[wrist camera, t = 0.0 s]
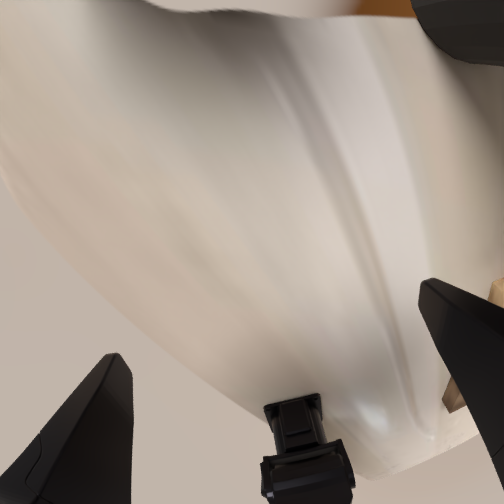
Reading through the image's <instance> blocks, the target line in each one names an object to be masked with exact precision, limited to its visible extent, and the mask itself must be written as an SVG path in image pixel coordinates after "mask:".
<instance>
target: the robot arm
mask: <svg viewBox="0 0 504 504" xmlns="http://www.w3.org/2000/svg"><path fill="white" fill-rule="evenodd" d="M418 306H419V310H420V312H421V314H422V316H423V319H424V321H425V323H426V325H427V327H428V330H429V332H430V334H431V337H432V339H433V341H434V343H435V346H436V348H437V350H438V352H439V354H440V356H441V357H442V359H443V361H444V363H445V365H446V366H447V368H448V370H449V372H450V374H451V376H452V378H453V379H454V381H455V383H456V385H457V387H458V389H459V391H460V393H461V395H462V397H463V399H464V401H465V403H466V405H467V407H468V409H469V411H470V413H471V415H472V417H473V419H474V421H475V423H476V425H477V428H478V430H479V432H480V434H481V436H482V438H483V441H484V443H485V445H486V447H487V450H488V452H489V454H490V457H491V458H492V462H493V464H494V467H495V469H496V472H497V474H498V477H499V479H500V482H501V484H502V487H503V490H504V308H502V307H500V306H498V305H496V304H494V303H491V302H489V301H487V300H485V299H482V298H480V297H478V296H476V295H473V294H471V293H469V292H467V291H464V290H462V289H460V288H457V287H455V286H453V285H450V284H448V283H446V282H443V281H441V280H439V279H436V278H430V279H427V280H424V281H422V282H421V285H420V292H419V300H418ZM263 408H264V412H265V415H266V418H267V420H268V423H269V426H270V428H271V431H272V432H273V433H274V439H275V445H276V450H277V455H273V456H264V457H263V462H262V463H260V466H261V474H262V480H261V481H262V482H261V494H262V496H263V497H265V498H267V501H268V502H269V504H352V498H353V494H352V490H351V489H352V488H355V486H356V485H355V478H354V473H353V469H352V466H351V463H350V461H349V458H348V455H347V453H346V450H345V448H344V445H343V442H342V440H341V439H337V440H336V441H333V442H329V443H327V439H326V436H325V432H324V429H323V425H322V409H321V399H320V395H319V394H312V395H308V396H304V397H300V398H296V399H292V400H288V401H283V402H279V403H274V404H270V405H266V406H264V407H263ZM133 413H134V411H133V377H132V372H131V370H130V369H129V367H128V366H127V364H126V363H125V361H124V360H123V358H122V357H121V355H120V354H119V353H110V354H106V355H105V356H104V357H103V358H102V359H101V360H100V361H99V362H98V364H97V365H96V366H95V367H94V368H93V369H92V370H91V372H90V373H89V374H88V375H87V376H86V377H85V378H84V380H83V381H82V382H81V383H80V384H79V386H78V387H77V388H76V389H75V390H74V391H73V393H72V394H71V395H70V396H69V397H68V399H67V400H66V401H65V402H64V403H63V405H62V406H61V407H60V408H59V409H58V410H57V412H56V413H55V414H54V415H53V416H52V418H51V419H50V420H49V421H48V422H47V424H46V425H45V426H44V427H43V428H42V430H41V431H40V434H38V435H37V436H36V437H35V438H34V440H33V441H32V442H31V443H30V444H29V446H28V447H27V448H26V449H25V450H24V452H23V453H22V454H21V455H20V456H19V457H18V458H17V459H16V460H15V462H14V463H13V464H12V465H11V466H10V467H9V468H8V469H7V470H6V471H5V472H4V473H3V474H2V475H1V476H0V504H131V471H132V445H133V426H134V414H133Z"/></svg>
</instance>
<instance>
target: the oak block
mask: <svg viewBox="0 0 504 504" xmlns="http://www.w3.org/2000/svg"><path fill="white" fill-rule="evenodd" d="M488 301H489V302H491V303H494V304H496V305H498V306H500V307H502V308H504V278H502V279H499V280H497V281H495V282H492V286H491V290H490V294H489V298H488Z"/></svg>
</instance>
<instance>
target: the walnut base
mask: <svg viewBox="0 0 504 504" xmlns="http://www.w3.org/2000/svg"><path fill="white" fill-rule="evenodd" d="M442 401H443V403H444V404H445V406H446V408H447V410H448V412H449V414H450V413H452V412H454V411H456V410H458V409H460V408H462V407H464V406H466V403H465V401H464V399H463V397H462V395H461V393H460V391H459V389H458V387H457V385H456V383H455V381H454V379H453V378H452V376H451V378H450V381H449V384H448V386H447V389H446V391H445V393H444V396H443V398H442Z"/></svg>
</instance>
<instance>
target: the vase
mask: <svg viewBox="0 0 504 504" xmlns="http://www.w3.org/2000/svg"><path fill="white" fill-rule="evenodd" d="M411 4H412V8H413V10H414V12H415V14H416V16H417V17H418V19H419V21H420V23H421V25H422V27H423V29H424V30H425V31H426V33H427V34H428V35H429V36H430V37H431V38H432V40H433V41H434V42H435V43H436V44H437V46H438V47H439V48H441V49H442V50H444V51H445V52H446V53H448V54H449V55H451V56H452V57H453V58H455V59H458V60H461V61H464V62H468V63H473V64H486V65H496V66H504V0H411Z"/></svg>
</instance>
